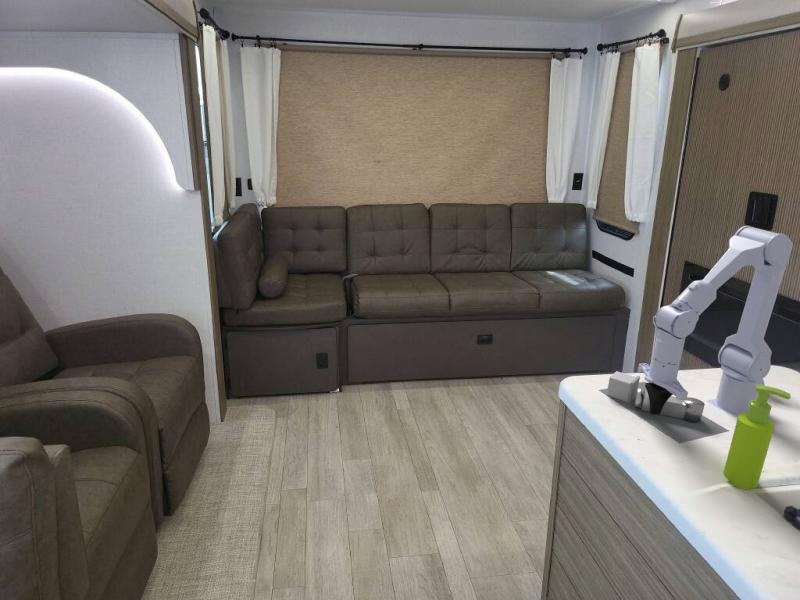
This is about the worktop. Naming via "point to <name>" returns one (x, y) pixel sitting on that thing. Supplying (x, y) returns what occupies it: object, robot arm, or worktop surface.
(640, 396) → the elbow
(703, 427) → the duct board
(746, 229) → the robot arm
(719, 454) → the worktop surface
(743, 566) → the worktop surface
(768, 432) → the soap dispenser
